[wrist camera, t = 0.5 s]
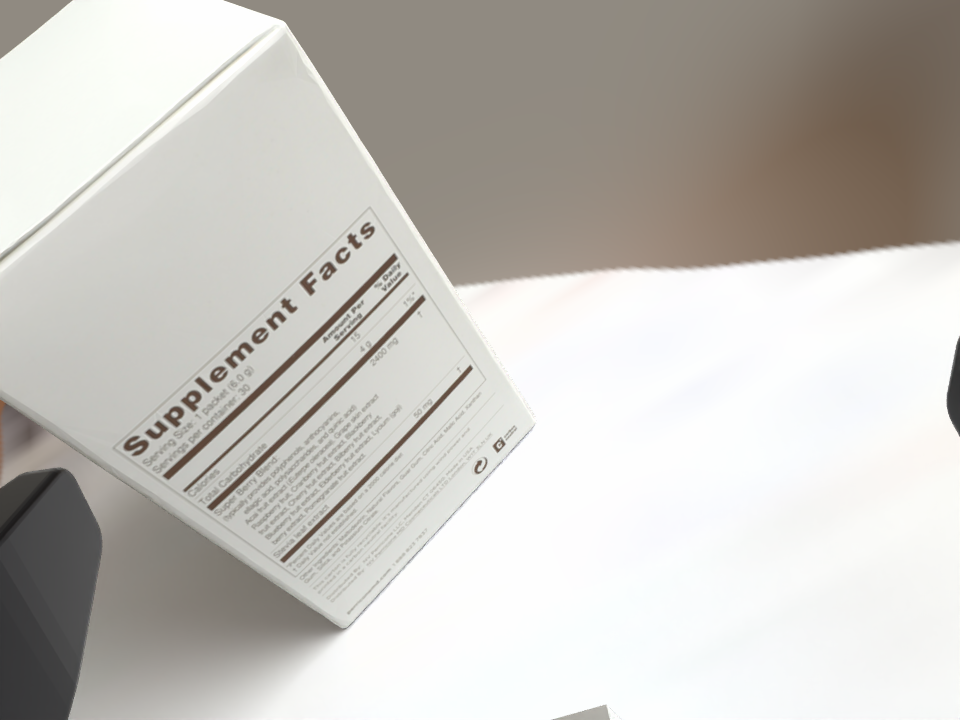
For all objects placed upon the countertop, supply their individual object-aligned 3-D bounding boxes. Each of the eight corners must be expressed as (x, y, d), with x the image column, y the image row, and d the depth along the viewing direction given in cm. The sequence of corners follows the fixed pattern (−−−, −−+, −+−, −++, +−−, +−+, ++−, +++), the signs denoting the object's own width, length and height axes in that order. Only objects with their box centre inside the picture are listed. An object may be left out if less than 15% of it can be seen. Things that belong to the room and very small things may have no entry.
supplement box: (214, 481, 31) (-174, 183, 20) (389, 311, 32) (119, -50, 22) (342, 643, 25) (-114, 344, 14) (548, 423, 26) (286, 3, 16)
